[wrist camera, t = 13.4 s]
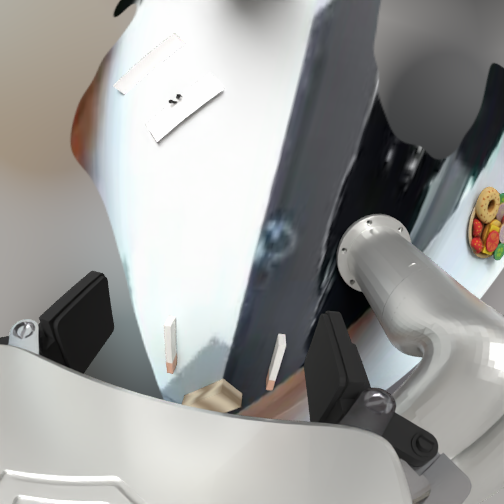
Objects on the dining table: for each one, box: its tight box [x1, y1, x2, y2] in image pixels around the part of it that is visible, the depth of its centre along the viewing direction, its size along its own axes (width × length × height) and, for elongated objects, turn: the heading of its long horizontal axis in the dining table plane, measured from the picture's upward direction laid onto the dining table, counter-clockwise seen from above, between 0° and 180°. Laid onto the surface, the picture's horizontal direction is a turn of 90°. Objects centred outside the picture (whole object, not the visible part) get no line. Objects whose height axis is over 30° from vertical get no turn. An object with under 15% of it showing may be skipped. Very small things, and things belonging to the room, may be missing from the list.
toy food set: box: [468, 187, 504, 260], centre depth 34 cm, size 13×13×3 cm
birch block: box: [182, 379, 242, 413], centre depth 51 cm, size 12×6×4 cm, turn 128°
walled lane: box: [164, 315, 286, 390], centre depth 46 cm, size 20×12×3 cm, turn 82°
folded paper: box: [113, 33, 224, 142], centre depth 31 cm, size 12×12×2 cm
